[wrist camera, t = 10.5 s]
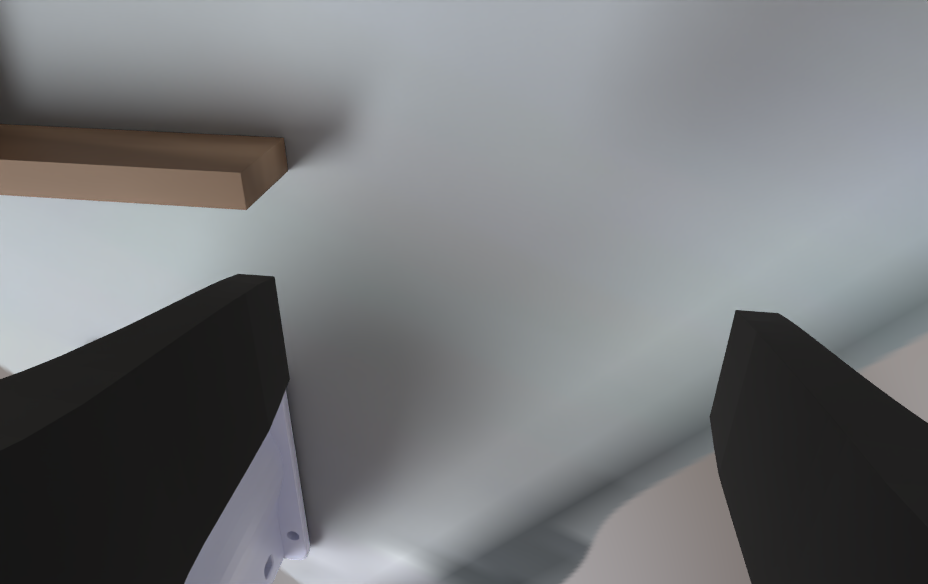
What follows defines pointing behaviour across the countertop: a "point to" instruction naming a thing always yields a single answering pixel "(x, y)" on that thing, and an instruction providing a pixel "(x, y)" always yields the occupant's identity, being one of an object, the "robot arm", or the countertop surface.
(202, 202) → the comb rack
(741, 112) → the countertop surface
